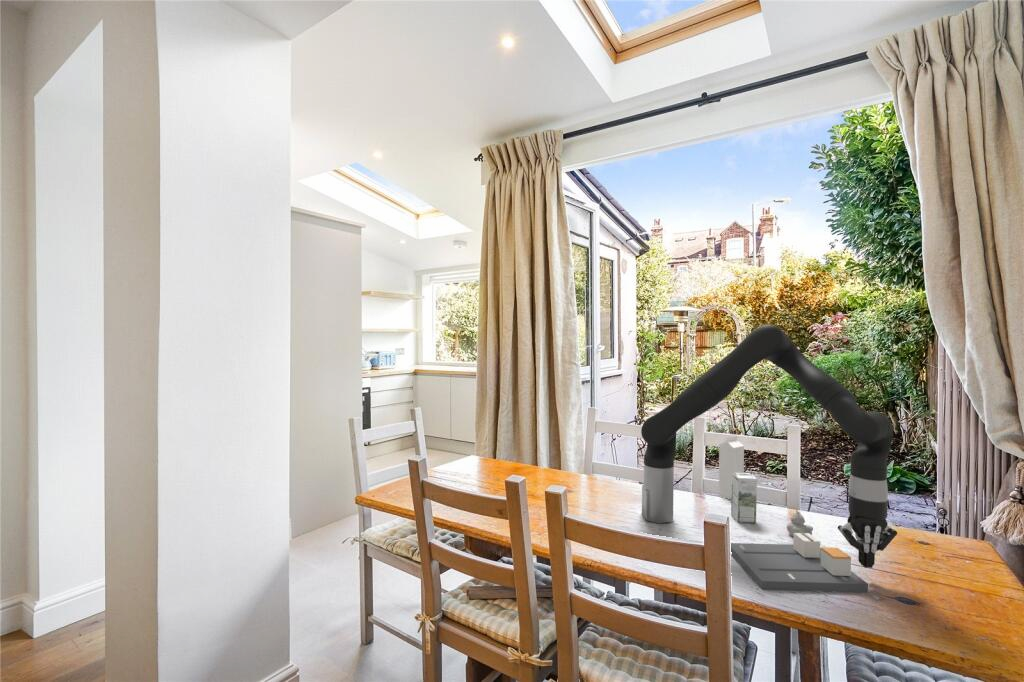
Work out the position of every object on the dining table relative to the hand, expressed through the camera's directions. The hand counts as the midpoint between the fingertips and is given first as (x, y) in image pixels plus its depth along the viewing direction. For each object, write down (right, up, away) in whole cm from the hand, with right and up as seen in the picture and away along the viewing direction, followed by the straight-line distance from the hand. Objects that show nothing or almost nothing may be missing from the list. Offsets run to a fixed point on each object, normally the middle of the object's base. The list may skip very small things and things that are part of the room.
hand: (866, 566), depth 115 cm
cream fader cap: (-9, -1, +9) cm, 13 cm away
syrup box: (-12, -3, +37) cm, 39 cm away
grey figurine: (-1, -3, +25) cm, 25 cm away
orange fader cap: (-7, -1, 0) cm, 7 cm away
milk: (-6, -3, +59) cm, 59 cm away
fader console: (-15, -3, +5) cm, 16 cm away
